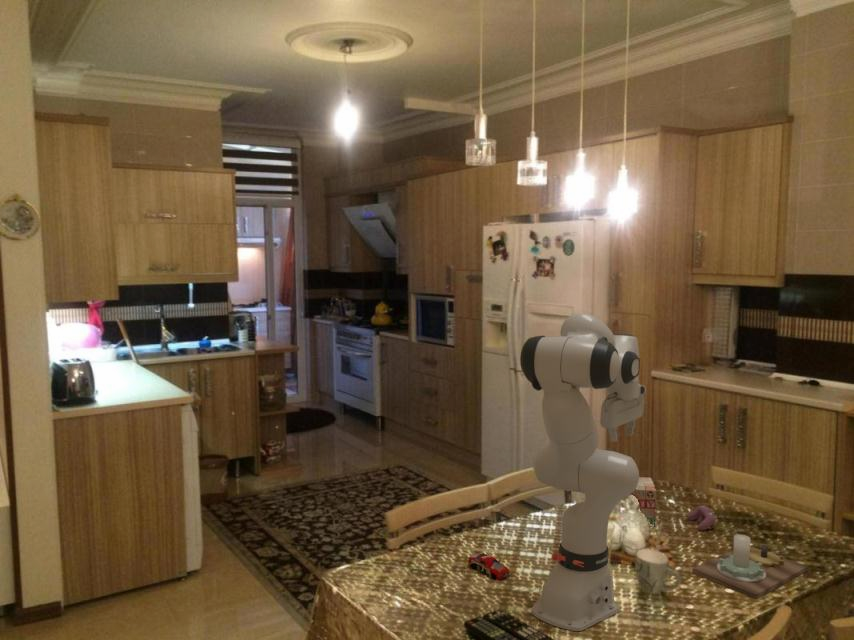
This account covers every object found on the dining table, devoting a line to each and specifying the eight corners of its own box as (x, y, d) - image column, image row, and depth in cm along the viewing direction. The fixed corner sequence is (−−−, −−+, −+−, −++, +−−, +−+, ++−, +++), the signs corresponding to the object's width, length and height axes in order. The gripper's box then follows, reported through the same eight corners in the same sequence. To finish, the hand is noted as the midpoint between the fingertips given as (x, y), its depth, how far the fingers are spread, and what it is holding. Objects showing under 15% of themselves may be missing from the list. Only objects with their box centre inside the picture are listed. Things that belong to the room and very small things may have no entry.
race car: (513, 577, 189) (513, 563, 188) (499, 584, 185) (499, 569, 185) (480, 561, 199) (480, 547, 198) (465, 566, 196) (465, 552, 195)
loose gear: (756, 583, 180) (757, 549, 179) (712, 571, 187) (713, 538, 186) (769, 568, 188) (770, 536, 187) (726, 557, 195) (727, 526, 194)
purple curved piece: (710, 536, 218) (721, 516, 217) (697, 530, 217) (708, 510, 217) (697, 523, 227) (707, 504, 227) (685, 517, 227) (695, 499, 227)
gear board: (756, 599, 175) (757, 578, 175) (692, 572, 190) (692, 553, 189) (807, 570, 190) (808, 551, 190) (744, 548, 205) (745, 530, 204)
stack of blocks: (628, 502, 243) (629, 468, 242) (647, 503, 242) (647, 468, 241) (634, 526, 222) (635, 488, 221) (655, 527, 221) (656, 489, 220)
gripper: (615, 397, 189) (615, 447, 190) (648, 386, 204) (647, 432, 205) (594, 394, 193) (594, 443, 194) (628, 383, 208) (627, 429, 210)
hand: (621, 437), depth 200 cm, fingers open, 8 cm apart
